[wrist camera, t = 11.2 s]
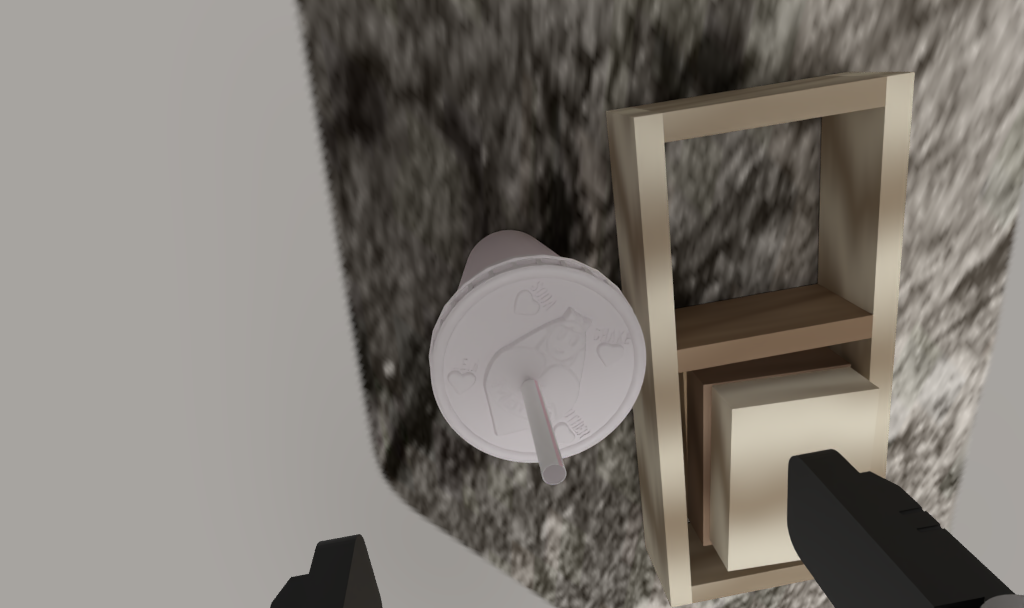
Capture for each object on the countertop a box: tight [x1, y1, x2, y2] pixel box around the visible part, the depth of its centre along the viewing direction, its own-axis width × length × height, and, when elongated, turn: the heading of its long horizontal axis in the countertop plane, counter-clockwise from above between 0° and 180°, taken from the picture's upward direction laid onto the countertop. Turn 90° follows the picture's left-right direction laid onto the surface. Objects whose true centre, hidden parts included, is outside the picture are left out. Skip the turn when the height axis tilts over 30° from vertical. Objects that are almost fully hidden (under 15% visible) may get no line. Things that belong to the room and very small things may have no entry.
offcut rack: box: [606, 72, 915, 607], centre depth 28 cm, size 22×10×4 cm, turn 8°
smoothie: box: [429, 230, 646, 485], centre depth 21 cm, size 6×6×14 cm
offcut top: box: [710, 367, 880, 571], centre depth 27 cm, size 8×6×2 cm
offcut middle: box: [687, 346, 851, 546], centre depth 29 cm, size 8×6×2 cm
